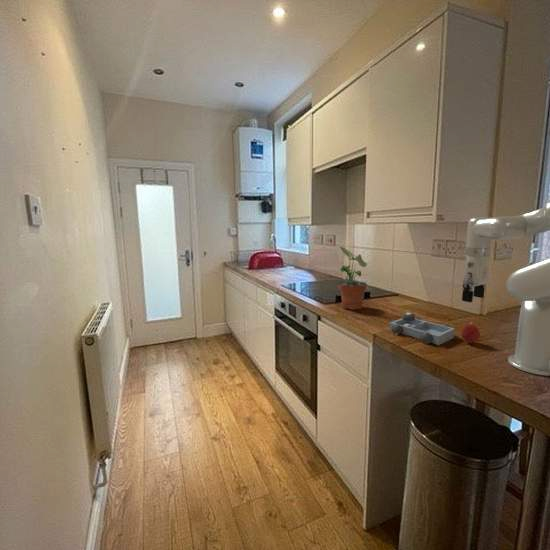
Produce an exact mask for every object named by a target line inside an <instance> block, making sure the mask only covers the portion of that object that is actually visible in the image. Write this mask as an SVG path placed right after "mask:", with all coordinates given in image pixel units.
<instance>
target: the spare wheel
mask: <svg viewBox="0 0 550 550" xmlns="http://www.w3.org/2000/svg"><path fill="white" fill-rule="evenodd" d="M415 317H416V314H415V313H411V312H403V313H402V319H403V320H407V321H414V320H415Z"/></svg>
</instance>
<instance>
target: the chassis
mask: <svg viewBox="0 0 550 550" xmlns="http://www.w3.org/2000/svg"><path fill="white" fill-rule="evenodd" d="M402 318H403V317H402ZM402 318H399V319H396V320H393V321H391V322H389V330H390V329H391V330H392V331H391V333H392V332H394V333H397V334H399V335H402V334H401V333H403V334H406V335H409V336H412V337H415V338H414V339H416V338H418V339H417V340H419V339H420V340H419V341H420V342H421V343H422V344H424V343H425V344H424V345H428V344H432V343H433V345H435V344H436V346H441V345H443V344H445V343H446V342H448V341H451V340H452V339H454V338H455V333H456V328H454V327H451V325H449V324H446V323H443V324H437V323H435V322H434V323H433V322H430V321H428V320H427V321H426V320H422V318H420V317H419V316H415V320H414V321H407V320H403V319H402ZM406 335H405V336H406ZM409 336H408V337H409ZM412 337H411V338H412ZM440 344H441V345H440Z"/></svg>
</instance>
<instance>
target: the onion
mask: <svg viewBox="0 0 550 550" xmlns="http://www.w3.org/2000/svg"><path fill="white" fill-rule="evenodd" d="M460 331H461V332H460V333H461V338H462V339H463V340H464V341H465V342H467V343H468V344H473V343H474V342H476V341H478V340H479V339H480V336H481V332H480V330H479V329H478V327H476V326H475V323H474V322H470V323H469V324H467V325H465V326H463V328H462V329H461V330H460Z"/></svg>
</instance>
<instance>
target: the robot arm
mask: <svg viewBox="0 0 550 550" xmlns="http://www.w3.org/2000/svg"><path fill="white" fill-rule="evenodd" d="M544 204H545V205H544V206H543V207H541V208H539V209H536V210H533V211H530V212H527V213H524V214H520V215H511V216H509V215H507V216H506V215H505V216H492V217H490V216H488V217H485V216H484V217H471V218H470V219H469V220H468V223H467V231H466V241H465V243H466V244H465V253H464V256H465V257H466V259H465V265H464V269H463V278H462V296H461V301H462V302H467V303H473V298H479V299H480V298H481V299H482V298H484V296H485V295H484V294H485V287H486V284H487V283H488V282H489V273H490V258H491V254H492V252H491V251H492V244H493V240H494V241H501V240H503V241H504V240H515V239H516V240H517V239H522V238H526V237H531V236H535V235H539V234H542V233H546V232H549V231H550V199H548V200H547V201H546V202H545V203H544ZM505 284H506V290H507V293H509V294H510V295H511V297H513V298H515V299H516V300H519V301H522V302H521V305H520V306H521V307H520V312H519V319H518V326H517V332H516V333H517V335H516V343H515V350H514V354H512V355H509V356H508V359H507V362H508V363H509V365H511V366H512V367H514V368H516V369H518V370H521V371H524V372H527V373H529V374H534V375H539V376H545V377H549V376H550V257H548V258H546V259H542V260H540V261H537V262H535V263H532V264H530V265H529V264H528V265H525V266H524V267H521V268H518V269H517V270H515V271H513V272H512V273H511V274H510V275H509V276H508V278H507V280H506V283H505Z"/></svg>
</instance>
